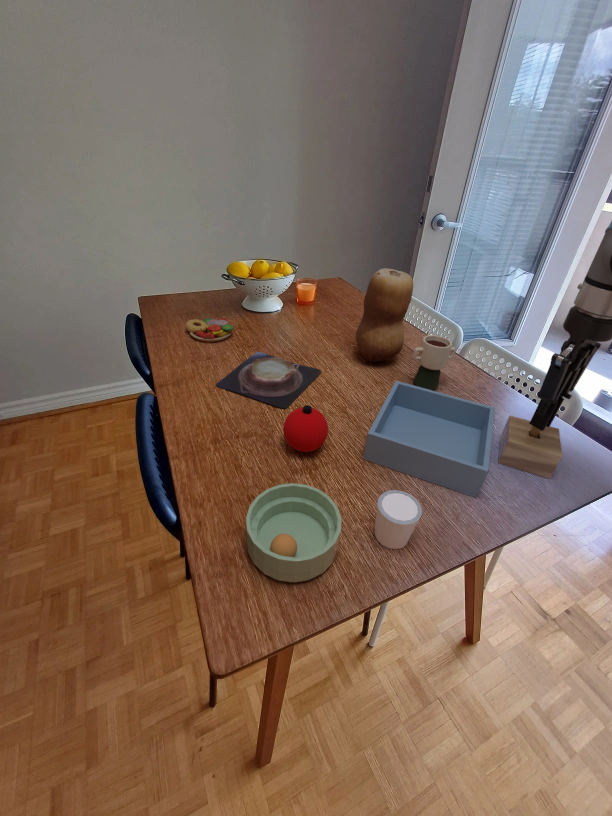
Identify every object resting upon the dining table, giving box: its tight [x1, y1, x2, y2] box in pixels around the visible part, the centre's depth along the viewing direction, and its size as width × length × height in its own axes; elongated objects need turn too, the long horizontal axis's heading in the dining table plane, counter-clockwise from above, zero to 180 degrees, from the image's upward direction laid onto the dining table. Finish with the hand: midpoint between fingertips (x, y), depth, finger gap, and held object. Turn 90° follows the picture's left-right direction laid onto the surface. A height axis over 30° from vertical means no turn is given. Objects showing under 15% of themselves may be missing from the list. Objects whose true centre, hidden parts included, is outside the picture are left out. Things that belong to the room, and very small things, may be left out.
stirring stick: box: [529, 426, 540, 438], centre depth 78 cm, size 2×2×18 cm
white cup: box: [374, 489, 423, 550], centre depth 63 cm, size 7×7×7 cm
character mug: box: [412, 334, 457, 391], centre depth 101 cm, size 11×7×13 cm, turn 99°
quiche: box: [215, 351, 322, 409], centre depth 102 cm, size 21×20×4 cm
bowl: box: [245, 482, 343, 583], centre depth 61 cm, size 14×14×6 cm
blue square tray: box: [362, 380, 496, 499], centre depth 83 cm, size 22×22×7 cm
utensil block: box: [497, 415, 563, 480], centre depth 82 cm, size 10×10×6 cm
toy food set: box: [185, 317, 234, 343], centre depth 121 cm, size 13×13×3 cm
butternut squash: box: [355, 267, 414, 363], centre depth 108 cm, size 14×13×25 cm
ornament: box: [282, 404, 329, 453], centre depth 79 cm, size 9×9×10 cm
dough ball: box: [270, 534, 297, 557], centre depth 59 cm, size 4×4×4 cm
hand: (539, 424), depth 79 cm, fingers closed on stirring stick, 1 cm apart
